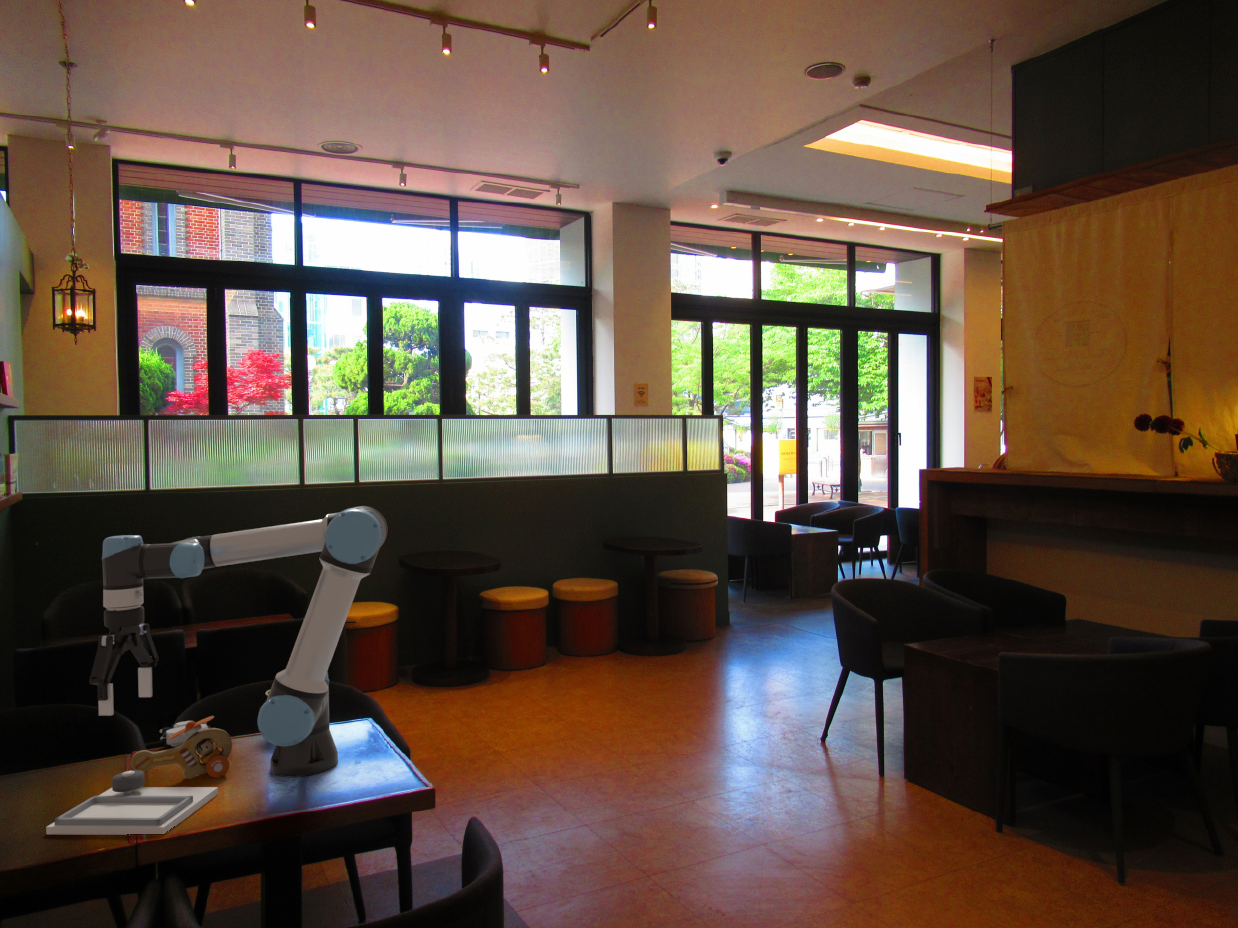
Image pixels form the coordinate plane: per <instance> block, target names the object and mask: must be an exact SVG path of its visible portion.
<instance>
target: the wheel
mask: <svg viewBox="0 0 1238 928" xmlns="http://www.w3.org/2000/svg"><path fill="white" fill-rule="evenodd" d="M111 780H112V781H111V782H112V783H111V785H112V786H111V788H112V790H113V791H115V792H127V791H132V790H135V789H138V788H140V787H144V786H145V773H144V772H143V771H139V770H135V771H133V770H127V771H124V772H120V773H118V774H115V775H114V776H112V778H111Z"/></svg>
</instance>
